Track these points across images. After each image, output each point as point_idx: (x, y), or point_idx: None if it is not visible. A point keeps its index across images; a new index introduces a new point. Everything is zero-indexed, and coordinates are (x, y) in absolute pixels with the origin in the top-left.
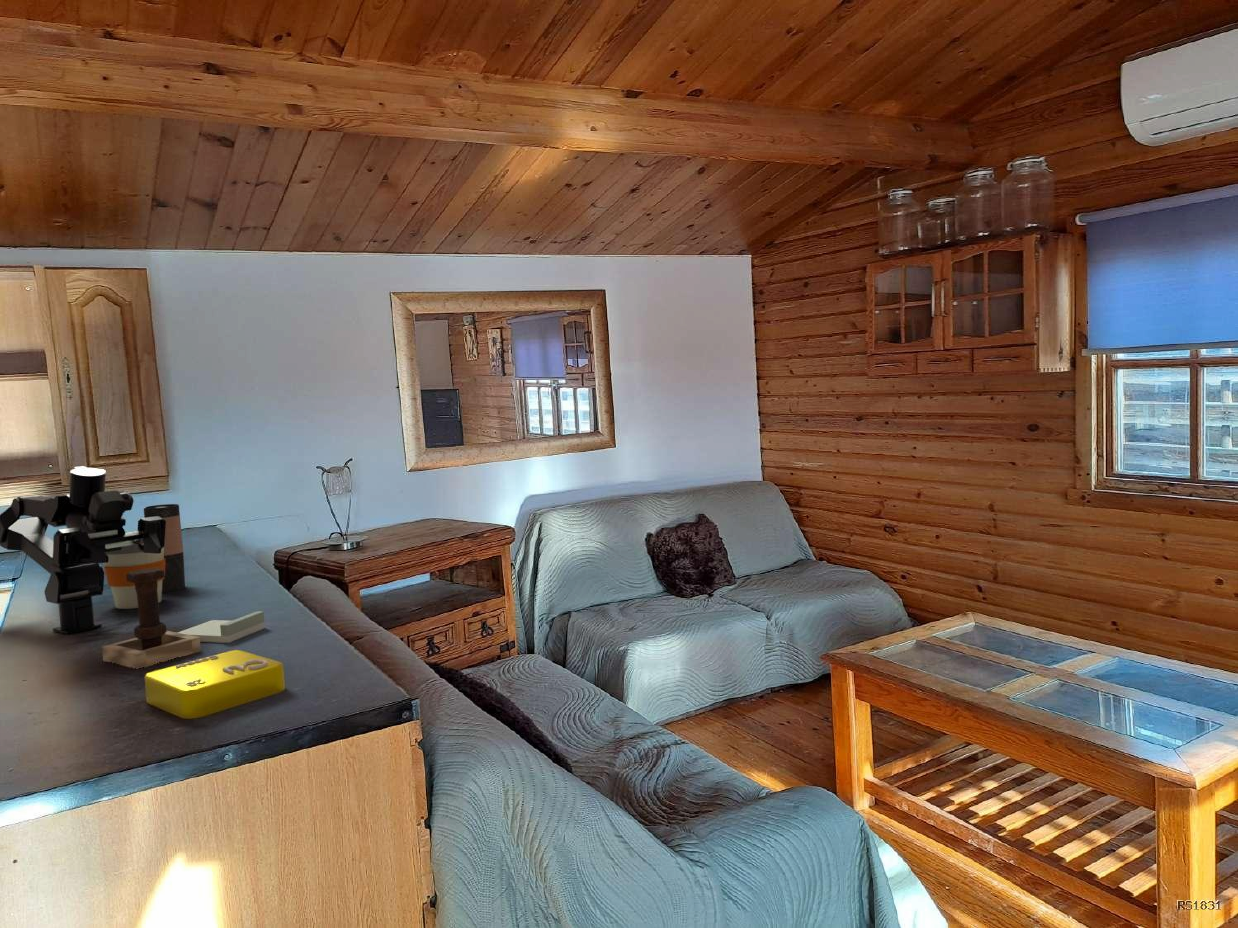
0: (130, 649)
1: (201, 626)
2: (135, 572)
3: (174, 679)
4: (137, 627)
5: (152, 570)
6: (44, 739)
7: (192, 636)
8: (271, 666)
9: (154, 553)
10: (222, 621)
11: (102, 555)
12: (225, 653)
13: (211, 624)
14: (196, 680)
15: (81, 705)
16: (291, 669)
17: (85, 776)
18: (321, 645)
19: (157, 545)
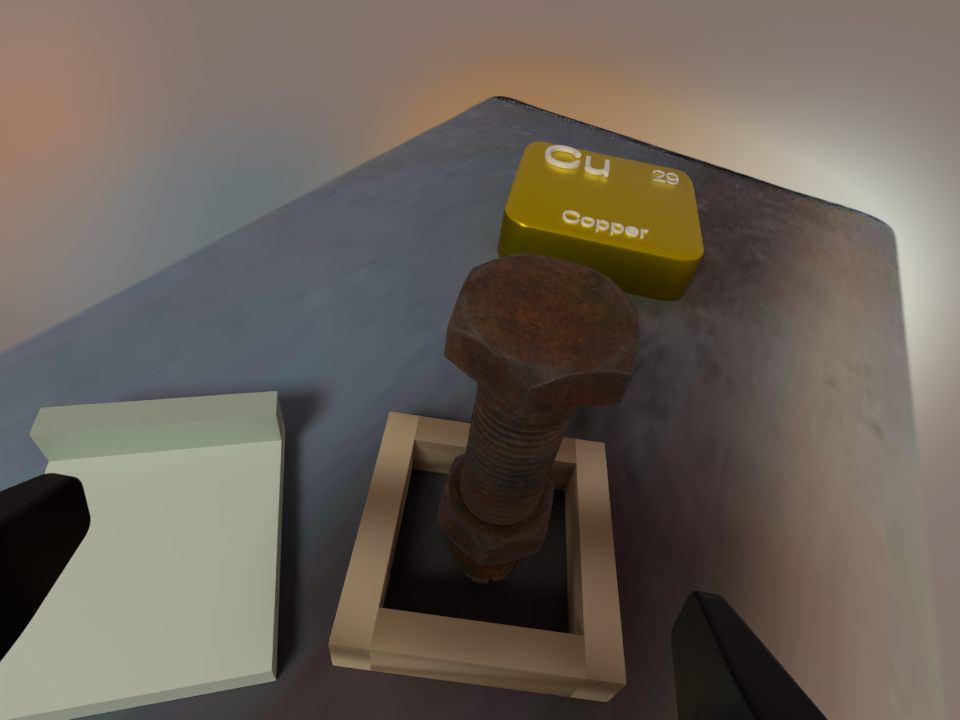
0: (585, 512)
1: (115, 655)
2: (606, 317)
3: (677, 206)
4: (544, 510)
5: (529, 276)
6: (856, 307)
7: (388, 440)
8: (552, 144)
9: (7, 651)
10: None
11: (762, 645)
12: (538, 217)
13: (75, 635)
14: (660, 179)
15: (780, 375)
16: (444, 209)
17: (820, 204)
18: (283, 233)
19: (7, 511)
